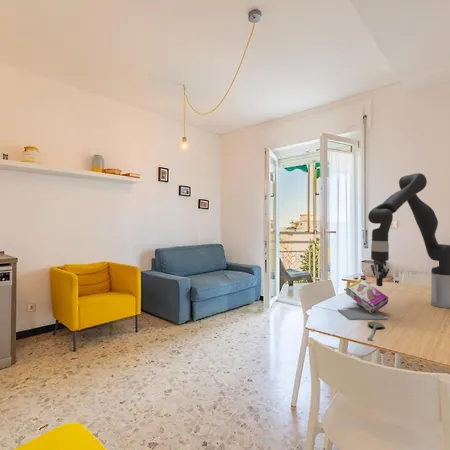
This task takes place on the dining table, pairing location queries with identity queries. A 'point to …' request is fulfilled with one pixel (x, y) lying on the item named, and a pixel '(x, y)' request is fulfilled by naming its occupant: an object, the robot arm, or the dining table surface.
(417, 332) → the dining table surface
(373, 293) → the candy bar box
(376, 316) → the mat
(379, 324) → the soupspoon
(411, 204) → the robot arm
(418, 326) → the dining table surface
